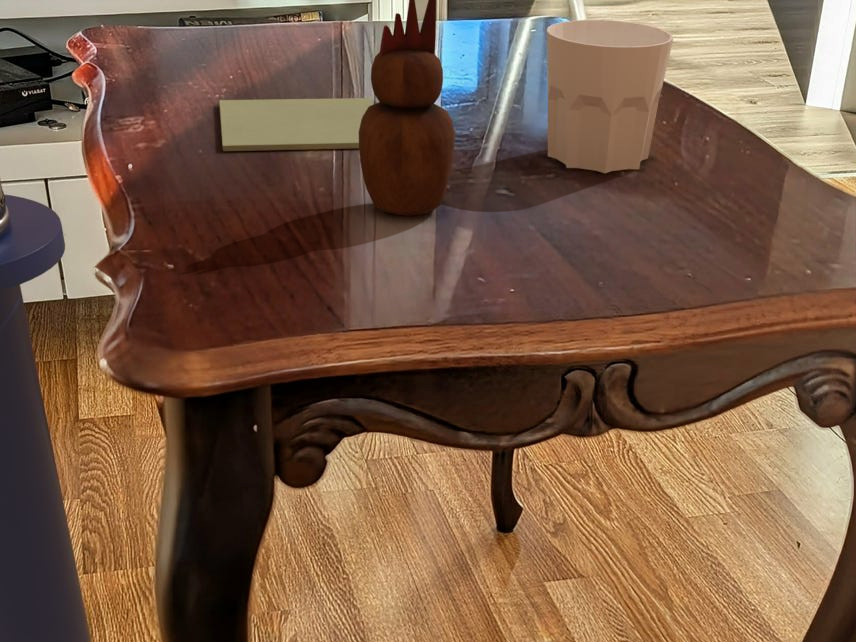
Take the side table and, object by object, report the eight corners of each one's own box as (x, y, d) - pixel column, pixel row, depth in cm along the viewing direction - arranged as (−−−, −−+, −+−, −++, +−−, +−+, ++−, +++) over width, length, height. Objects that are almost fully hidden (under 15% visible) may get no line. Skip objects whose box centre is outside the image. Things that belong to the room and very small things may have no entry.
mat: (222, 151, 95) (222, 145, 94) (219, 105, 106) (219, 99, 106) (391, 147, 97) (391, 141, 97) (371, 103, 108) (370, 97, 108)
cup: (680, 169, 95) (697, 42, 90) (575, 181, 92) (586, 50, 86) (617, 135, 103) (630, 17, 97) (518, 146, 99) (525, 23, 93)
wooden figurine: (455, 198, 87) (461, -17, 79) (448, 225, 83) (454, -1, 74) (366, 193, 87) (363, -22, 79) (355, 219, 83) (349, -6, 74)
